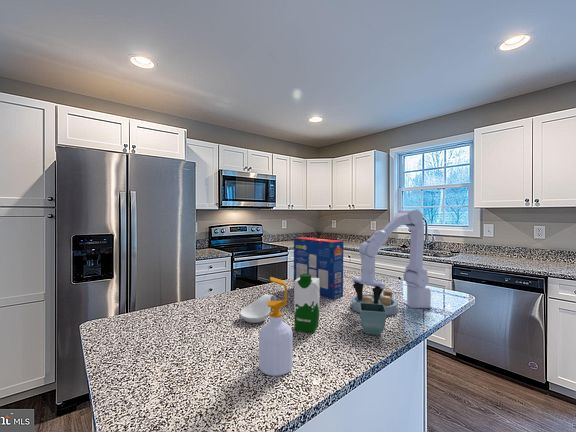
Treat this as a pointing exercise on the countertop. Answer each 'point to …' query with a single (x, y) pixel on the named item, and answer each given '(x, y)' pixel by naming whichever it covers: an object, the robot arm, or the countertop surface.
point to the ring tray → (355, 303)
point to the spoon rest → (257, 309)
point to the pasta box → (320, 264)
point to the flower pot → (373, 318)
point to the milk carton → (306, 303)
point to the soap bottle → (276, 340)
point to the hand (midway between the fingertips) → (367, 301)
